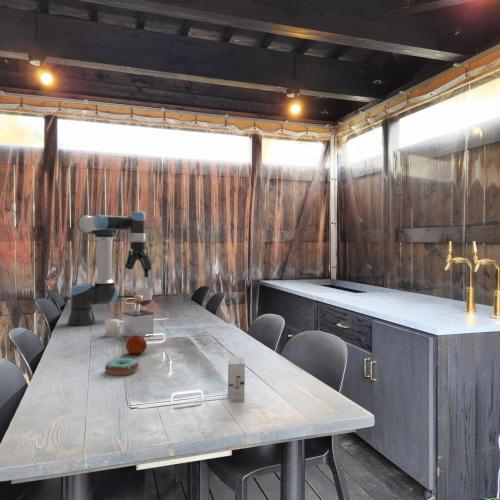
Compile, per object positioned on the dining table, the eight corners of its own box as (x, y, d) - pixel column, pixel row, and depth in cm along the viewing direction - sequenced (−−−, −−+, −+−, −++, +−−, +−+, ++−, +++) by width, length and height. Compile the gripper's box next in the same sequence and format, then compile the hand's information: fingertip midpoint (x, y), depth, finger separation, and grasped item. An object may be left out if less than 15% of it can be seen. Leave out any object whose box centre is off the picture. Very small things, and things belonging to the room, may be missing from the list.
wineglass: (148, 329, 236) (148, 290, 235) (132, 329, 238) (132, 289, 237) (155, 326, 244) (155, 288, 244) (139, 326, 246) (139, 288, 246)
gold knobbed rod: (128, 331, 222) (128, 295, 221) (140, 329, 227) (140, 294, 227) (136, 333, 217) (136, 297, 216) (148, 331, 222) (148, 295, 222)
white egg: (102, 335, 222) (102, 320, 222) (114, 333, 227) (114, 318, 227) (109, 337, 217) (109, 321, 217) (122, 335, 222) (122, 319, 222)
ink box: (227, 392, 138) (227, 356, 138) (243, 392, 138) (243, 356, 138) (228, 402, 129) (228, 363, 129) (245, 402, 130) (245, 363, 130)
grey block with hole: (123, 335, 221) (123, 312, 221) (141, 332, 230) (141, 309, 229) (134, 338, 214) (134, 314, 214) (153, 335, 222) (153, 312, 222)
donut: (111, 367, 166) (111, 356, 166) (142, 367, 166) (142, 357, 166) (99, 376, 154) (99, 365, 154) (132, 377, 154) (132, 366, 154)
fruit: (128, 357, 179) (128, 338, 179) (124, 352, 187) (124, 334, 187) (149, 354, 184) (149, 336, 183) (144, 350, 191) (144, 332, 191)
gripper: (118, 241, 227) (118, 281, 227) (145, 241, 210) (145, 284, 210) (131, 241, 232) (130, 280, 233) (158, 241, 215) (158, 283, 216)
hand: (137, 282), depth 222 cm, fingers open, 13 cm apart
